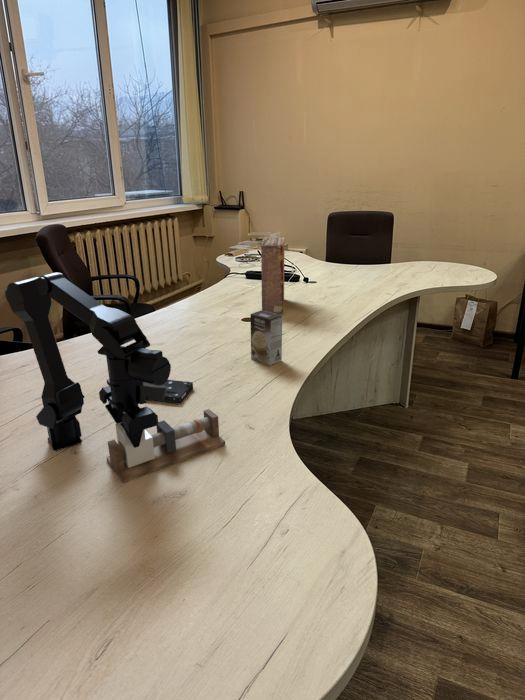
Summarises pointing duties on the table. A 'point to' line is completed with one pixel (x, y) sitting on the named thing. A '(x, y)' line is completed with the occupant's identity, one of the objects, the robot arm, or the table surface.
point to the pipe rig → (188, 444)
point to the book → (272, 274)
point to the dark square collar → (167, 436)
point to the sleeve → (138, 453)
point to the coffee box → (266, 337)
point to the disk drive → (176, 391)
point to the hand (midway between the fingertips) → (131, 441)
